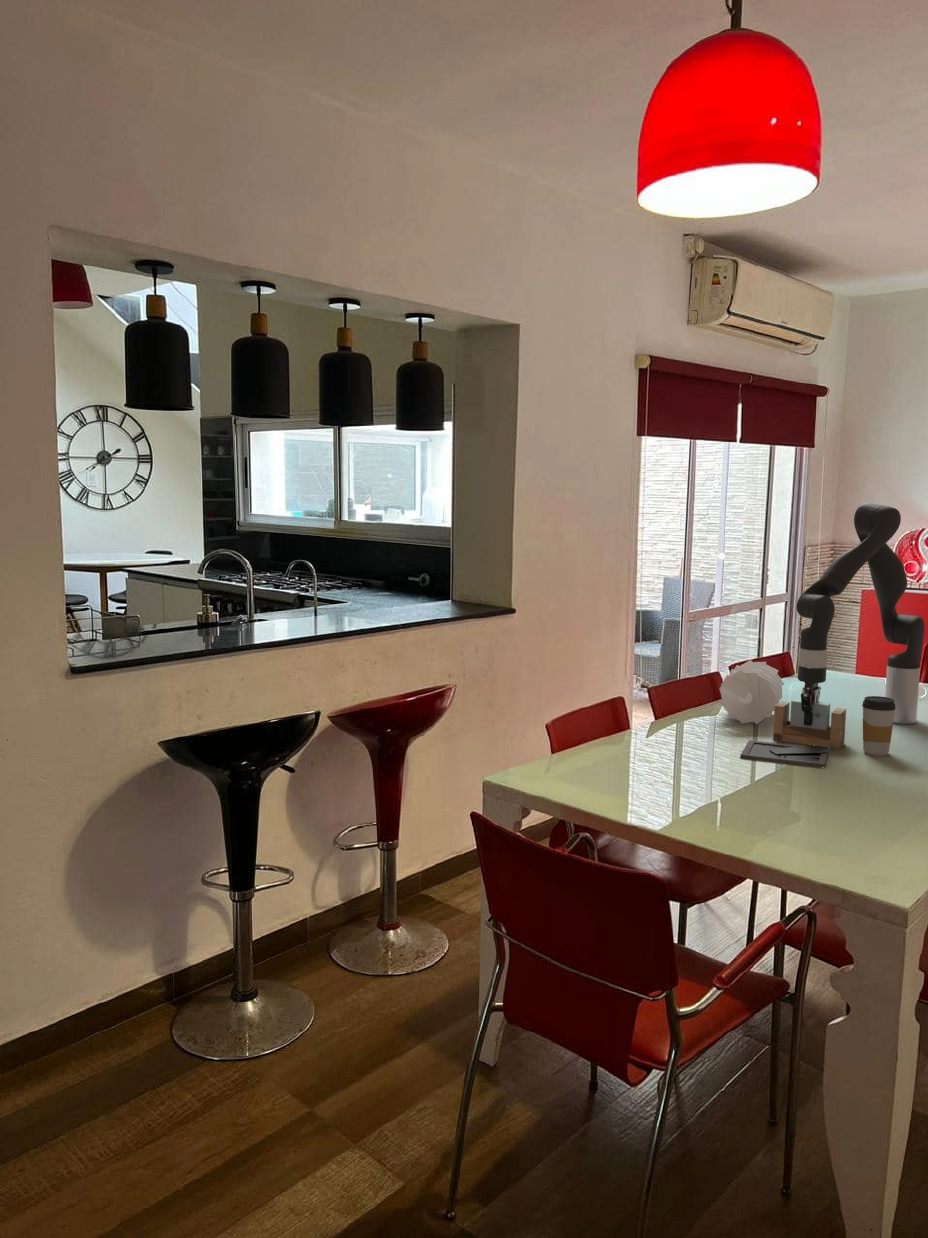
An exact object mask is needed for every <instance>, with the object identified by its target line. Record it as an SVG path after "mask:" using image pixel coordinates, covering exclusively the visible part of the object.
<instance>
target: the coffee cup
mask: <svg viewBox="0 0 928 1238" xmlns="http://www.w3.org/2000/svg"><path fill="white" fill-rule="evenodd" d="M861 706H862V744H863V745H862V746H863V747H862V749H863V751H864V753H865V754H868V755H871V756H877V757H879V756H883V757H884V756H887V755H888V754H889V752H890V747H891V741H892V735H893V730H894V729H893V727H894V722H893V719H894V712H895V709H896V708H895V706H896V705H895V703H894V700H893V699H891V698H887V697H885V696H878V695H876V696H875V695H871V696H870V695H869V696H865V697H864V699H863V701H862V704H861Z"/></svg>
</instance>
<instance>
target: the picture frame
mask: <svg viewBox="0 0 928 1238" xmlns="http://www.w3.org/2000/svg"><path fill="white" fill-rule="evenodd" d="M829 749H830V748H829V747H822V746H814V745H807V744H805V745H799V744H798V745H795V744H789V743H788V744H787V743H780V742H779V743H778V742H769V741H761V740H753V739H752V740H750V739H749V740H748V741H747V743H746V745H745V746H744V748H743V750H742V751H741V753H740V756H739V757H740V759H743V760H751V761H759V762H760V761H762V762H769V763H776V764H777V763H778V764H785V765H793V766H803V767H810V768H811V767H812V768H818V767H825V768H826V763H827V761H828V760H827V759H828V755H829Z"/></svg>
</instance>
